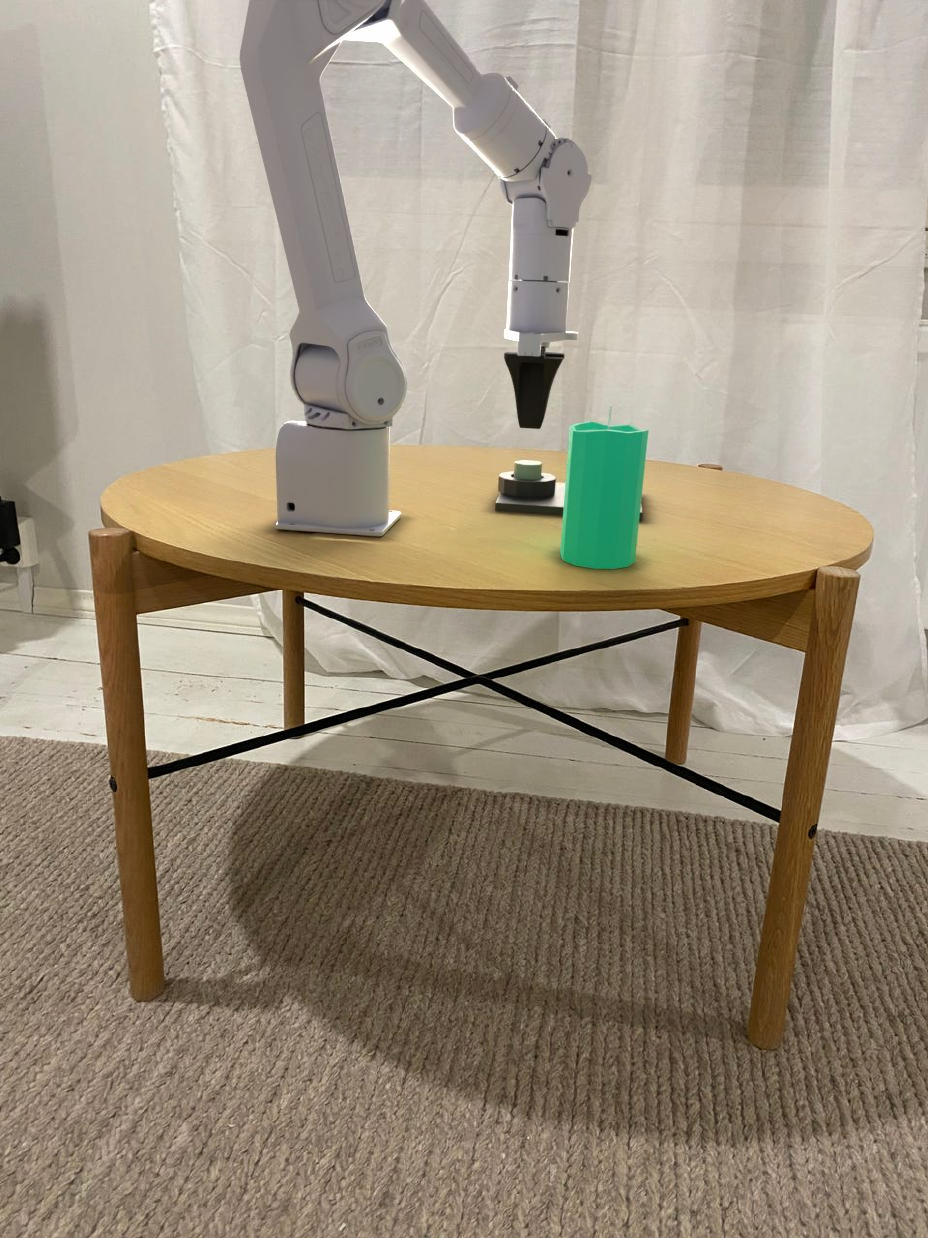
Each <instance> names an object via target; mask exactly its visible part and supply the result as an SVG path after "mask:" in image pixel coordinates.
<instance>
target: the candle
mask: <svg viewBox="0 0 928 1238" xmlns="http://www.w3.org/2000/svg"><path fill="white" fill-rule="evenodd" d="M612 408H613V407H612V406H609V410H608V422H607V424H604V423H599V422H597V421H593V420H591V421H585V422H578V423H574V424H571V425H570V426H569V428H568V429H569V431H568V441H567V442H568V445H567V457H566V470H565V471H566V472H565V482H564V483H565V495H564V509H563V516H562V521H561V522H562V524H561V537H560V538H561V539H560V550H559V556H560V558H561V559H562V561H563V562H565V563H568V564H571V565H573V566H576V567H582V568H589V569H595V570H618V569H623V568H629V567H630V566H632V565H633V564H634V563H636V554H637V546H638V545H637V544H638V535H639V526H640V521H639V517H640V507H641V502H642V496H643V487H644V486H643V485H644V478H645V468H646V467H645V466H646V458H647V448H648V438H649V430H648V429H639V428H637V427H636V426H633V425H632V424H619V425H618V424H616V425H611V419H612Z"/></svg>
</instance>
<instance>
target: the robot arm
mask: <svg viewBox="0 0 928 1238" xmlns="http://www.w3.org/2000/svg"><path fill="white" fill-rule="evenodd" d="M242 33H243V34H242V38H241V45H240V50H239V65H240V66H239V67H240V71H241V72H240V73H241V76H242V79H243V84H244V88H245V92H246V97H247V100H248V105H249V110H250V113H251V118H252V121H253V125H254V129H255V133H256V137H257V142H258V146H259V150H260V154H261V158H262V163H263V166H264V171H265V174H266V175H265V176H266V179H267V183H268V187H269V192H270V195H271V199H272V204H273V208H274V212H275V216H276V221H277V224H278V229H279V234H280V236H281V241H282V246H283V249H284V253H285V257H286V261H287V266H288V270H289V274H290V277H291V282H292V286H293V291H294V294H295V298H296V303H297V306H298V313H297V316H296V318H295V320H294V321H293V323H292V326H291V328H290V330H289V333H288V335H289V340H290V343H291V350H292V358H291V363H290V369H289V380H290V386H291V389H292V391H293V394H294V396H295V397H296V399H297V400H298V402H300V403H301V404H302V405H303V406H304V407H303V410H304V411H303V412H304V413H303V414H304V415H303V416H304V421H303V420H301V421H300V420H288V421H286V422H284V423H283V424H282V425H281V427H280V429H279V431H278V434H277V437H276V438H277V440H276V444H275V445H276V446H275V481H276V482H275V484H276V485H275V487H276V511H277V513H276V514H277V521H276V522H275V523H274V528H275V529H276V530H285V531H297V532H298V531H299V532H310V533H311V532H312V533H325V534H338V535H339V534H340V535H351V536H366V537H383V536H384V535H385V534H386V533H387V532H388V531H389V529H391V527H392V526H394V525H395V523H397V521H398V520H399V519H401V517H402V512H401V511H399V510H390V484H391V483H390V482H391V481H390V480H391V479H390V477H391V474H390V472H391V471H390V469H391V467H390V466H391V464H390V463H391V461H390V460H391V427H393V425H394V424H393V423H394V422H393V417H395V416H396V415H397V413H398V412H399V411H400V409H401V408H402V406H403V404H404V402H405V399H406V396H407V393H408V392H407V391H408V376H407V371H406V368H405V365H404V363H403V360H402V359H401V358H400V356H399V355H398V353H396V351H395V350H394V348H393V345H392V343H391V339H390V336H389V331H388V326H387V325H386V323H385V322H384V321H383V320H382V319H381V317H380V316H379V315H378V313H377V312H376V311H375V310H374V308H373V307H372V306H371V304H369V302H368V301H367V299H366V296H365V290H364V285H363V282H362V281H363V280H362V277H361V276H362V275H361V272H360V267H359V266H360V265H359V262H358V257H357V251H356V248H355V242H354V239H353V238H354V237H353V233H352V229H351V223H350V219H349V213H348V209H347V205H346V199H345V195H344V190H343V185H342V180H341V176H340V171H339V166H338V161H337V157H336V156H337V155H336V152H335V146H334V141H333V136H332V132H331V127H330V123H329V117H328V114H327V109H326V102H325V98H324V94H323V89H322V83H321V78H322V75H323V73H324V71H325V70H326V68H327V66H328V65H329V63H330V62H331V60H332V59H333V57H334V55H335V54H336V52H337V51H338V50H339V47H340V46H341V44H342V43H343V41H357V42H373V43H379V44H382V45H384V47H385V48H387V49H388V50H389V51H390V52H391V53H392V54H393V55H394V56H395V57H396V58H398V60H399V61H401V62H402V63H403V64H404V65H405V66H406V67H407V68H408V69H410V70H411V72H413V73H414V74H415V75H416V76H417V77H418V78H419V79H420V80H422V81H423V82H424V83H425V84H426V85H427V86H428V87H429V88H430V89H432V90H433V91H434V92H435V94H437V95H438V96H439V97H440V98H441V99H442V100H444V102H446V103H447V104H448V105H449V106H450V107H451V108H452V123H453V129H454V131H455V133H456V134H458V136H459V137H461V139H462V140H463V141H464V142H465V143H466V144H467V145H468V146H469V147H470V148H471V149H472V150H473V151H474V152H475V153H476V154H477V155H478V156H479V157H480V158H481V159H482V160H483V161H484V163H486V164H487V165H488V166H489V168H491V169H492V170H493V174H495V175H496V177H497V179H498V181H499V187H500V192H501V194H502V197H503V199H504V200H505V201H504V202H505V203H507V204H508V205H511V206H512V207H511V232H510V252H509V272H508V273H509V274H508V292H507V311H506V312H507V313H506V328H504V331H503V338H504V339H507V340H510V341H515V342H517V351H516V352H515V351H514V352H513V351H511V352H510V351H505V352H504V353H503V359H504V362H505V365H506V367H507V370H508V372H509V375H510V379H511V382H512V387H513V391H514V399H515V408H516V417H517V421H518V422H517V423H518V426H519V428H520V429H529V430H530V429H532V430H540V429H541V428H542V426H543V423H544V420H545V416H546V412H547V408H548V403H549V398H550V394H551V390H552V387H553V384H554V381H555V378H556V375H557V373H558V370H559V368H561V367H560V366H561V365H562V363H563V361H564V360H565V356H566V355H565V353H564V352H555V351H554V352H552V351H547V349H550V348H551V343H558V342H559V343H560V342H567V341H578V339H579V332H578V331H567V325H568V324H567V322H568V310H569V309H568V308H569V293H570V279H571V267H572V266H571V265H572V253H573V240H574V237H573V236H574V229H575V228H577V227H576V226H577V223H579V219H580V210H581V205H582V203H583V202H584V201H585V199H586V197H587V195H588V193H589V191H590V188H591V184H592V177H593V175H592V174H591V173H589V165H588V161H587V157H586V156H585V154H584V152H583V150H582V149H581V148H580V147H579V146H578V145H577V144H576V142H574V141H573V140H572V139H570V138H568V137H566V138H564V137H557V136H556V134H555V133H554V132H553V130H551V125H550V123H549V122H548V121H547V120H546V119H543V118H541V117H540V115H538V113H537V112H535V110H534V109H533V108H532V106H531V105H529V103H528V102H527V101H526V100H525V99H524V97H522V96H521V94H520V93H519V92H518V90H519V84H518V83H517V82H516V81H515V80H514V79H513V78H512V76H504V75H503V74H501V73H499V72H488V73H482V72H481V71H480V70H479V69H478V67H477V66H476V64H474V62H473V61H472V59H470V57H469V56H468V55H467V53H466V51H464V50H463V48H462V47H461V46H460V44H459V43H458V42H457V41H456V39H455V38H454V36H452V34H451V32H449V30H448V29H447V27H446V26H445V25H444V24H443V22H442V20H440V19H439V17H438V16H437V15H436V13H435V12H434V10H432V8H431V7H430V5H428V3H427V2H426V0H249V1H248V6H247V11H246V17H245V23H244V27H243V32H242Z"/></svg>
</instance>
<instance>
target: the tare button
mask: <svg viewBox="0 0 928 1238" xmlns="http://www.w3.org/2000/svg"><path fill="white" fill-rule="evenodd" d="M513 471H514V478H518V479H529V480H535V479H541V475H542V473H543V463H542V461H538V460H532V459H520V460H519V459H518V460H515V461H514V462H513Z"/></svg>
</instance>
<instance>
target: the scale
mask: <svg viewBox="0 0 928 1238" xmlns="http://www.w3.org/2000/svg"><path fill="white" fill-rule="evenodd" d="M497 484H498V485H497V492H498V493H500V494H499V496H498V497H497V499H496V501H495V503H494V504H495V505H494V511H495V512H507V513H517V514H518V513H521V514H534V515H549V516H561V517H563V509H564V495H565V482H557V476H555V475H553V474H551V473H547V472H542V475H541V479H535V480H529V479H518V478H514V470H509V471H505V472H500V473H499V475H498V482H497ZM643 518H644V511H643V504H642V501H641V507H640V517H639V522H643V520H644V519H643Z"/></svg>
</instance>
